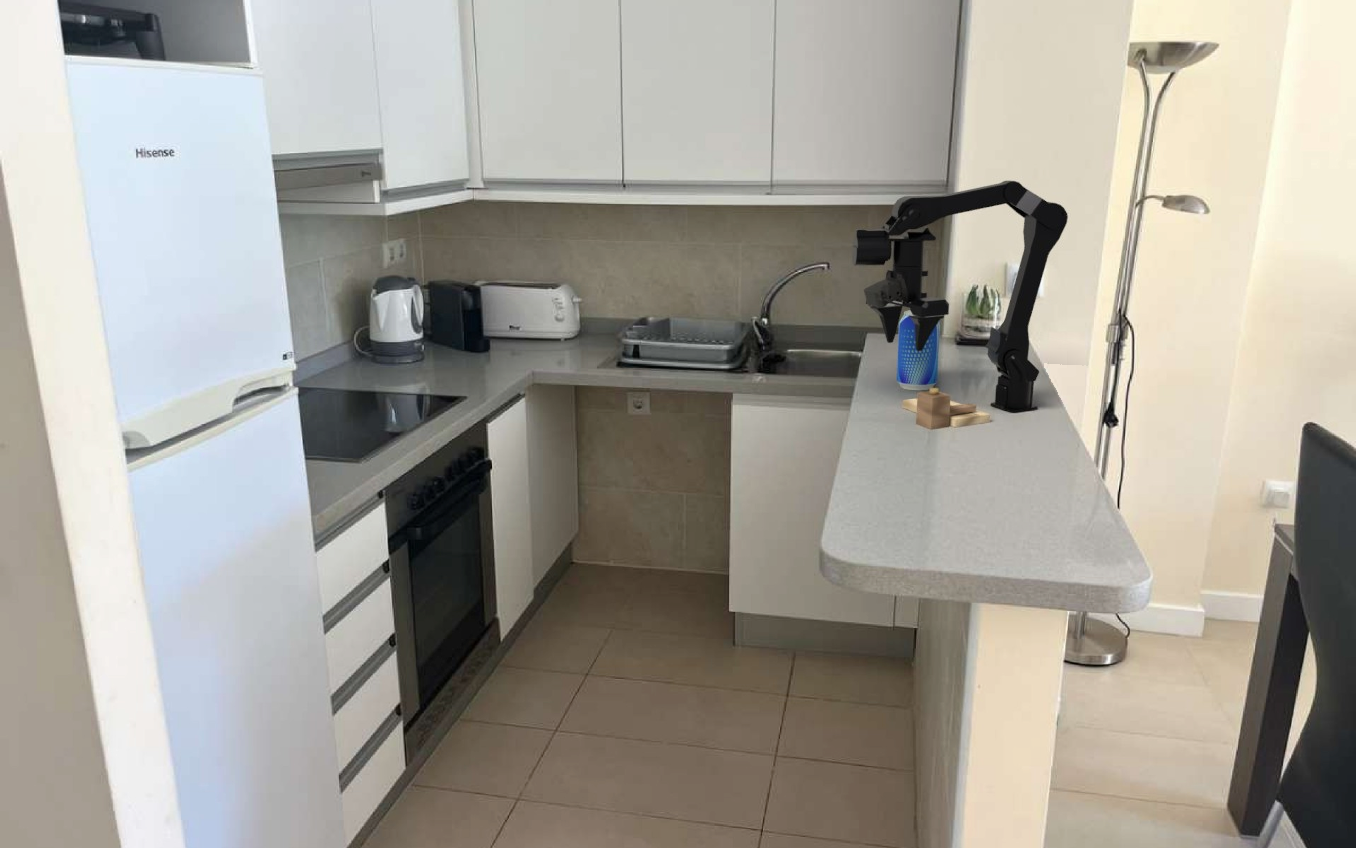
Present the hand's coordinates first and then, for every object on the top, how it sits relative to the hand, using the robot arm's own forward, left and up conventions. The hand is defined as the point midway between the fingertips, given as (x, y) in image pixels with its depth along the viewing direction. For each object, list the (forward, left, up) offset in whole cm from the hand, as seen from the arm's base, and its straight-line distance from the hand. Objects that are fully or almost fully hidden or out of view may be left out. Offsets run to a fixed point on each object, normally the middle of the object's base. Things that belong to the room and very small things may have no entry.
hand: (904, 346), depth 192 cm
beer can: (-14, -14, -13) cm, 24 cm away
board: (-5, +7, -12) cm, 15 cm away
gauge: (-2, +12, -13) cm, 17 cm away
